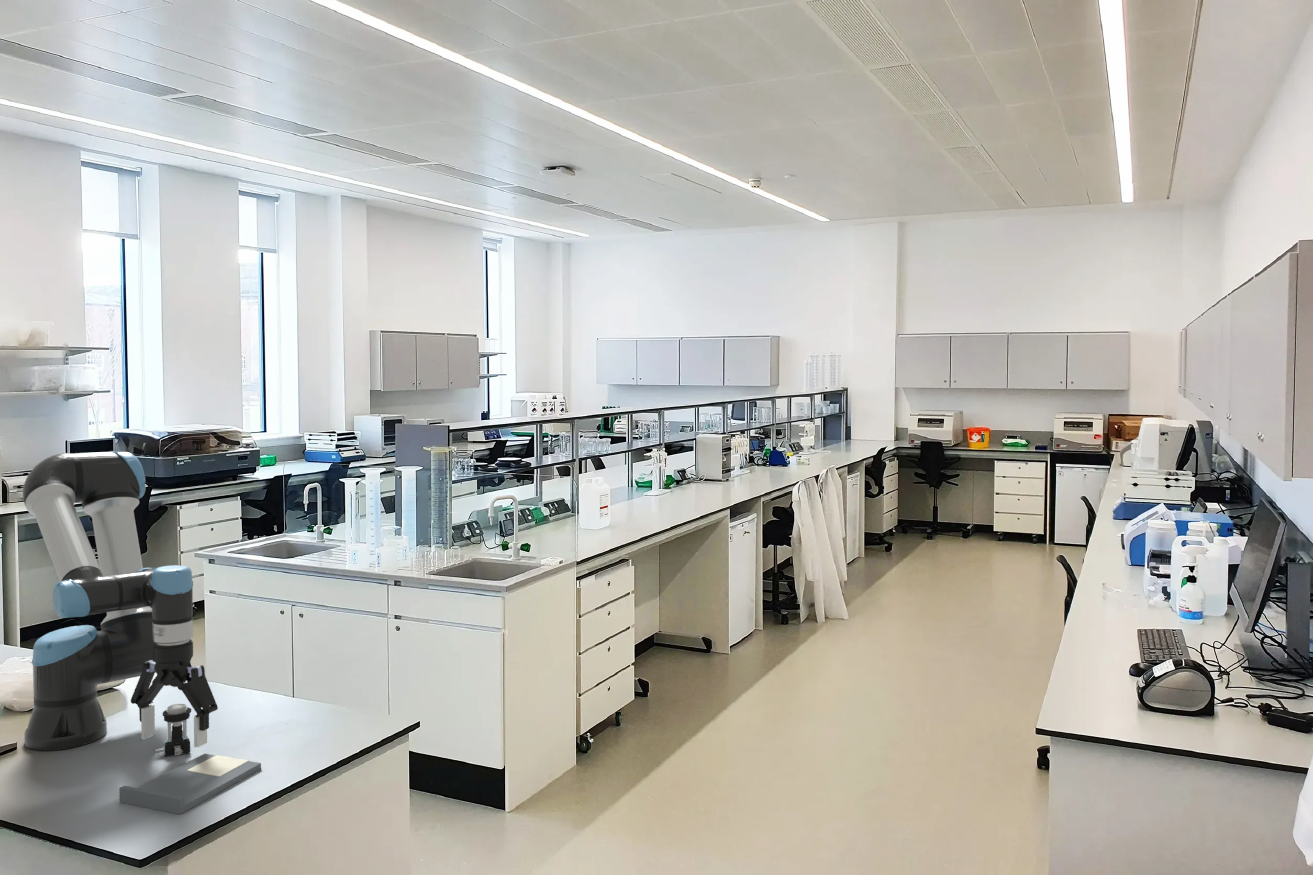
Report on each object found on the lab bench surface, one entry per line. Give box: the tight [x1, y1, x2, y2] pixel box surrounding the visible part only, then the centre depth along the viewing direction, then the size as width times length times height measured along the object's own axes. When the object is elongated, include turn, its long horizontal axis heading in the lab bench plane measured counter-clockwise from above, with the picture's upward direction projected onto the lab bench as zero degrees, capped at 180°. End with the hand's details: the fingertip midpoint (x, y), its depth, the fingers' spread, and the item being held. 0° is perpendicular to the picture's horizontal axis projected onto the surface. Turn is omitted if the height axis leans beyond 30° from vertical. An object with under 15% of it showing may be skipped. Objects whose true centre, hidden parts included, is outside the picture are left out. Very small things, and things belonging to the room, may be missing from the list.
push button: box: [155, 703, 192, 757], centre depth 194 cm, size 7×5×10 cm
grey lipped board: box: [118, 753, 262, 815], centre depth 180 cm, size 14×21×3 cm, turn 163°
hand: (174, 741), depth 194 cm, fingers open, 13 cm apart
